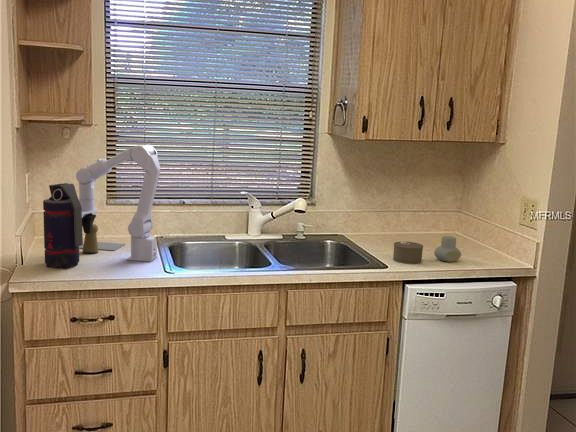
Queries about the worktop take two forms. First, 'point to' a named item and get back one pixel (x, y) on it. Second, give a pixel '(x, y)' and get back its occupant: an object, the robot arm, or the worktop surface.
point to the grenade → (62, 226)
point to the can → (408, 252)
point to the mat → (107, 246)
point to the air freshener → (447, 250)
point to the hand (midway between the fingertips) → (87, 233)
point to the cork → (91, 240)
